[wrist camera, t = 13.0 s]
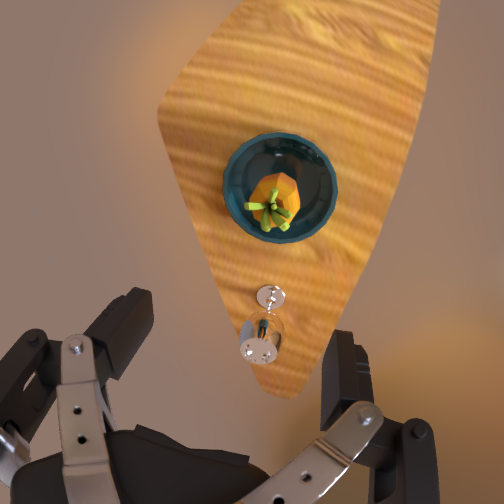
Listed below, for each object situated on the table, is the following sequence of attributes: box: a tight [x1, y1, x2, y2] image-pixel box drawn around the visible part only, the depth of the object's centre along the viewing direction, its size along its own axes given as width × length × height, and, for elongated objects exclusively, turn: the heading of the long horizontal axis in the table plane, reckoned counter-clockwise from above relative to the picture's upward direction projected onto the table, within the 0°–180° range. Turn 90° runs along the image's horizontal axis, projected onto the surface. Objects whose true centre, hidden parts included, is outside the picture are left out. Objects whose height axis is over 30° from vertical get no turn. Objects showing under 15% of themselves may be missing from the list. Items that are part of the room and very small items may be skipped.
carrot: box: [244, 172, 300, 232], centre depth 30 cm, size 5×5×15 cm
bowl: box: [222, 130, 338, 244], centre depth 35 cm, size 13×13×5 cm
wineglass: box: [240, 285, 285, 364], centre depth 40 cm, size 6×6×12 cm
